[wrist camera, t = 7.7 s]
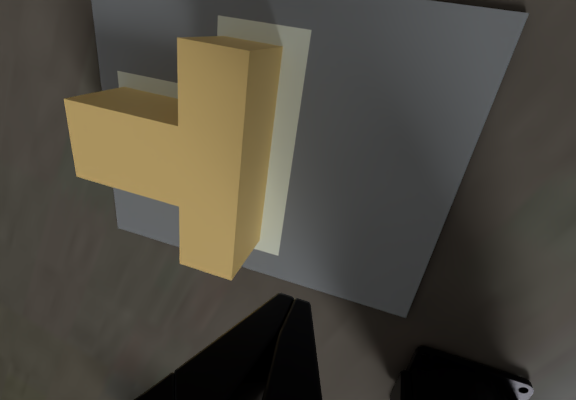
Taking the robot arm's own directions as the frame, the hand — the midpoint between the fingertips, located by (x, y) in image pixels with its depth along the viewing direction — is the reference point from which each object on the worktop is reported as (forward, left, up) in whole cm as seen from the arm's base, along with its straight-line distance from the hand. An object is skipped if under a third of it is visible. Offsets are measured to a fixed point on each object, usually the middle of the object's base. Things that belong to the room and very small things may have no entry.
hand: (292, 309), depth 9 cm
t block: (+9, 0, -10) cm, 14 cm away
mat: (+5, 0, -11) cm, 12 cm away
